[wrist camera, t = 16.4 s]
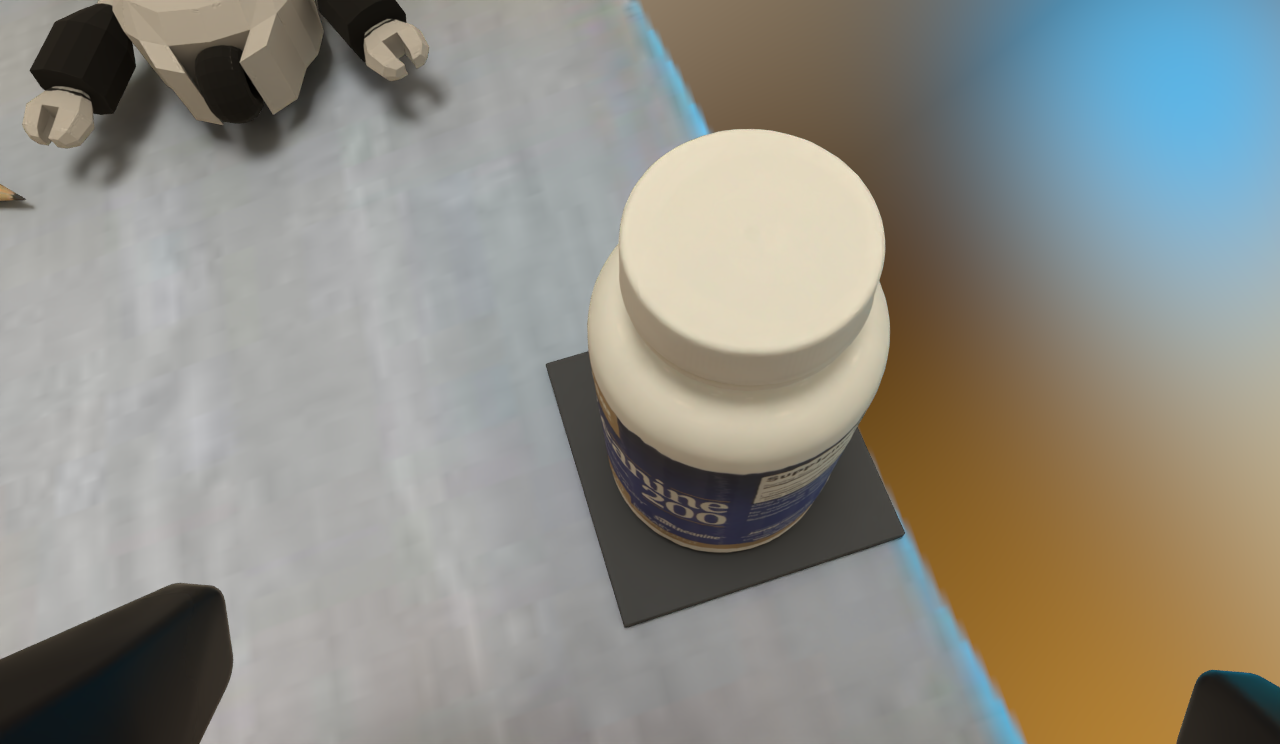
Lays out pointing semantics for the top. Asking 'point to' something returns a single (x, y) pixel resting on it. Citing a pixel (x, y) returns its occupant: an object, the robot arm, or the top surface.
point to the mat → (682, 577)
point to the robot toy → (203, 56)
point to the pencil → (8, 194)
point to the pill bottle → (737, 335)
